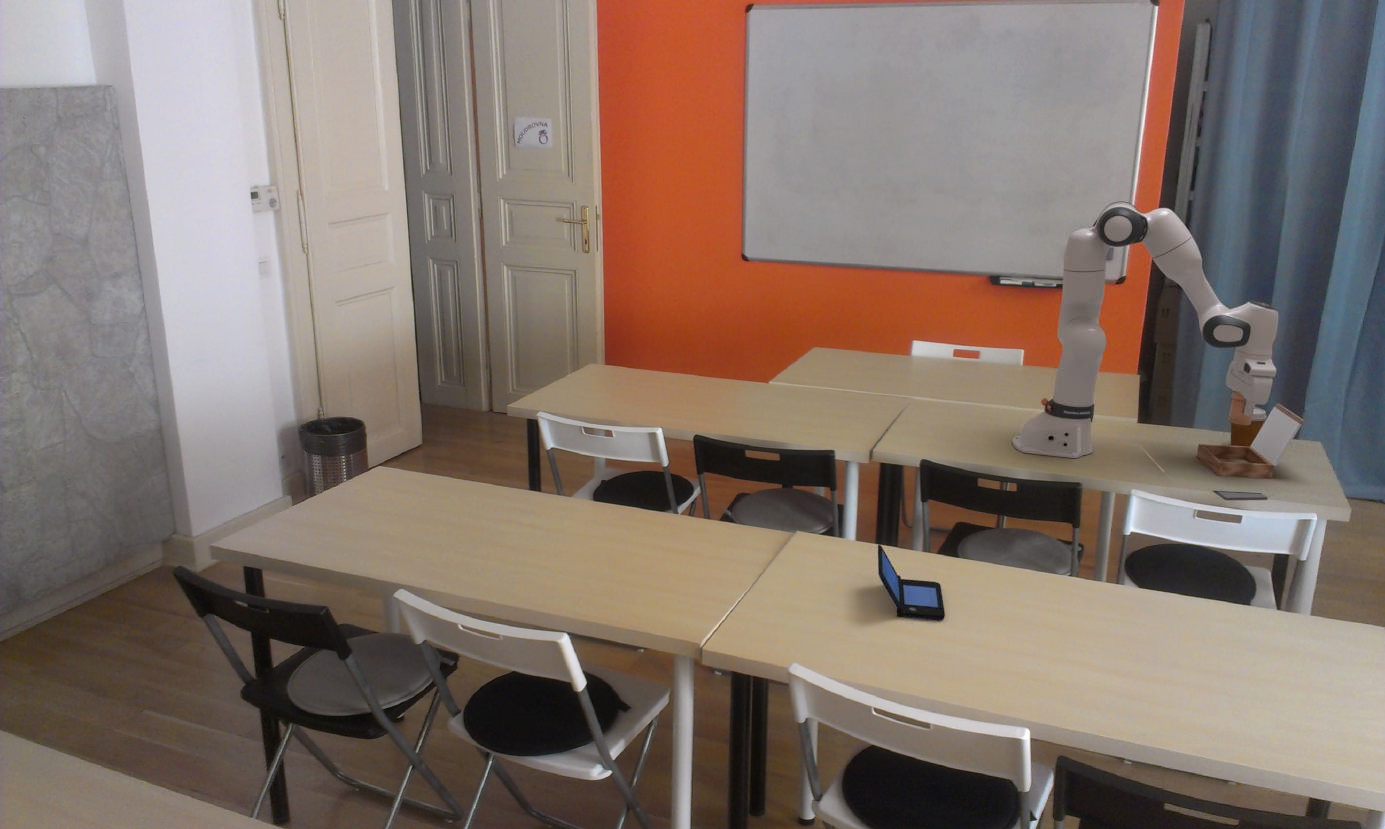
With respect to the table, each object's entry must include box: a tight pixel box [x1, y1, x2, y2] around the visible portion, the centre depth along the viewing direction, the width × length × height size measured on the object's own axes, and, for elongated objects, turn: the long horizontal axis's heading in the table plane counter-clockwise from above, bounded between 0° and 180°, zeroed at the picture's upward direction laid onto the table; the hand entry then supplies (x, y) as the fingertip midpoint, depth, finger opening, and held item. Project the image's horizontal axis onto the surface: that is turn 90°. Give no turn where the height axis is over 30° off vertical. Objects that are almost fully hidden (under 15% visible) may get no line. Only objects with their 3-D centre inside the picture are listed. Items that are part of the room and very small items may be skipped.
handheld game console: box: [877, 544, 946, 621], centre depth 207 cm, size 16×13×9 cm
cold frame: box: [1196, 443, 1275, 480], centre depth 285 cm, size 14×16×4 cm
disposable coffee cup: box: [1229, 406, 1268, 447], centre depth 302 cm, size 10×10×12 cm
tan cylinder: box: [1227, 390, 1254, 425], centre depth 281 cm, size 6×6×8 cm
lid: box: [1250, 402, 1306, 467], centre depth 282 cm, size 14×16×1 cm
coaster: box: [1213, 490, 1269, 501], centre depth 270 cm, size 11×11×1 cm
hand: (1241, 411), depth 281 cm, fingers closed on tan cylinder, 6 cm apart
